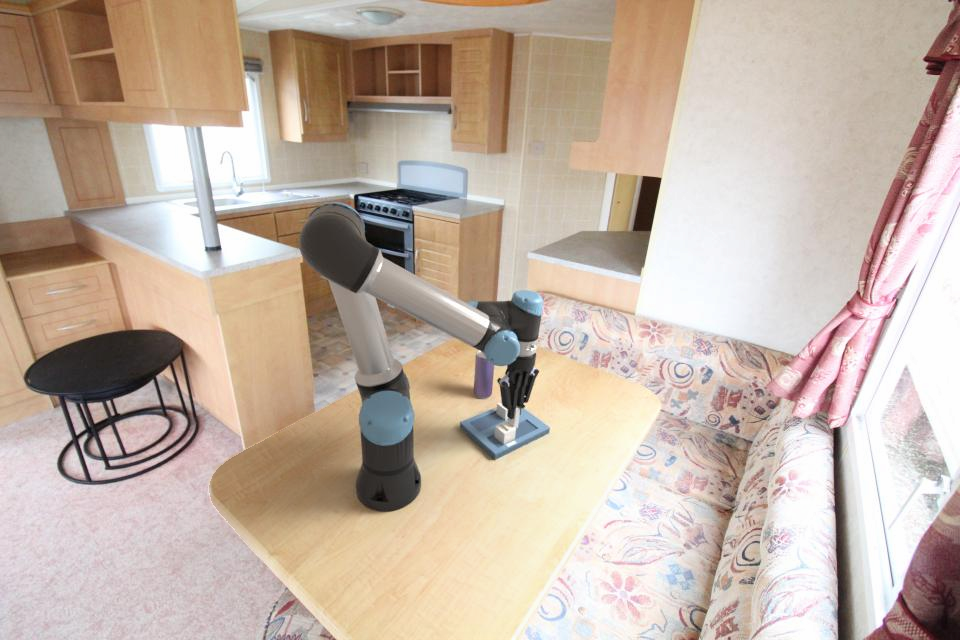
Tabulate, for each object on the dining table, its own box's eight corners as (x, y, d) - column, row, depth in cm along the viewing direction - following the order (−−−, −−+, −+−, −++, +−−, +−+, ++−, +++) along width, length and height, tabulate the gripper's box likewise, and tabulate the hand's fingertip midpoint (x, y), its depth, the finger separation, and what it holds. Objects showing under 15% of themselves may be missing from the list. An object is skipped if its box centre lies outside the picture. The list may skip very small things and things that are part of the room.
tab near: (503, 444, 124) (504, 432, 123) (494, 436, 127) (495, 424, 125) (514, 439, 127) (516, 427, 125) (505, 431, 129) (506, 419, 128)
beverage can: (491, 400, 146) (495, 358, 140) (473, 398, 146) (475, 357, 140) (491, 389, 151) (495, 349, 145) (473, 388, 151) (476, 348, 145)
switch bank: (495, 460, 121) (495, 453, 120) (459, 427, 132) (460, 421, 132) (549, 433, 132) (550, 427, 132) (512, 405, 144) (513, 399, 143)
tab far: (504, 420, 134) (506, 408, 132) (496, 413, 137) (497, 401, 135) (515, 415, 136) (516, 404, 135) (506, 408, 139) (507, 397, 138)
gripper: (512, 363, 111) (503, 442, 121) (550, 350, 119) (539, 425, 129) (492, 350, 117) (485, 426, 126) (530, 339, 124) (521, 411, 134)
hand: (512, 426), depth 127 cm, fingers closed
